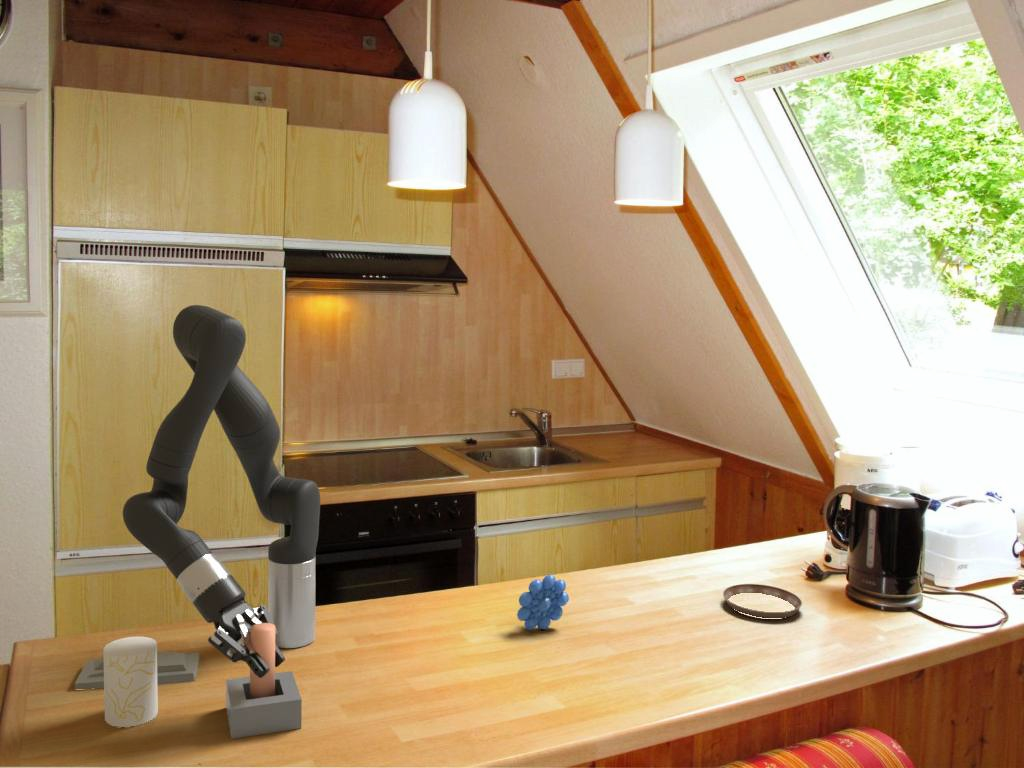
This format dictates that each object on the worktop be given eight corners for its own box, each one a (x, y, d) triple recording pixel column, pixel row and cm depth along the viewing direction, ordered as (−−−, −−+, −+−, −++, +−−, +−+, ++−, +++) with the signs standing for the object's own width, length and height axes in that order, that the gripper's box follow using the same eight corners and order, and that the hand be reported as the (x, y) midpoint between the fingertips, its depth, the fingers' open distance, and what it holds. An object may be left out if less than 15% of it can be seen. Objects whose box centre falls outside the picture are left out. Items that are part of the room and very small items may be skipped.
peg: (248, 693, 152) (249, 624, 150) (273, 690, 153) (273, 621, 152) (251, 703, 148) (251, 633, 147) (276, 700, 150) (276, 630, 148)
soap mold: (86, 668, 168) (86, 651, 168) (200, 661, 173) (199, 643, 173) (74, 694, 158) (74, 675, 158) (195, 685, 163) (194, 667, 163)
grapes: (559, 619, 199) (561, 566, 197) (571, 631, 192) (574, 576, 191) (509, 624, 195) (511, 571, 193) (520, 637, 188) (522, 581, 187)
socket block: (226, 707, 154) (226, 679, 154) (291, 698, 158) (292, 671, 158) (231, 738, 144) (231, 709, 144) (301, 728, 148) (301, 699, 148)
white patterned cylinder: (104, 731, 145) (102, 659, 144) (105, 708, 153) (103, 640, 151) (158, 722, 149) (157, 652, 147) (156, 700, 156) (155, 633, 154)
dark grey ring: (790, 630, 198) (791, 617, 197) (712, 612, 207) (712, 599, 206) (809, 606, 213) (810, 593, 213) (735, 590, 222) (735, 578, 221)
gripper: (197, 587, 144) (262, 673, 142) (249, 562, 157) (310, 640, 155) (169, 614, 146) (233, 699, 144) (223, 587, 160) (283, 664, 157)
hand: (272, 668), depth 149 cm, fingers closed on peg, 4 cm apart
